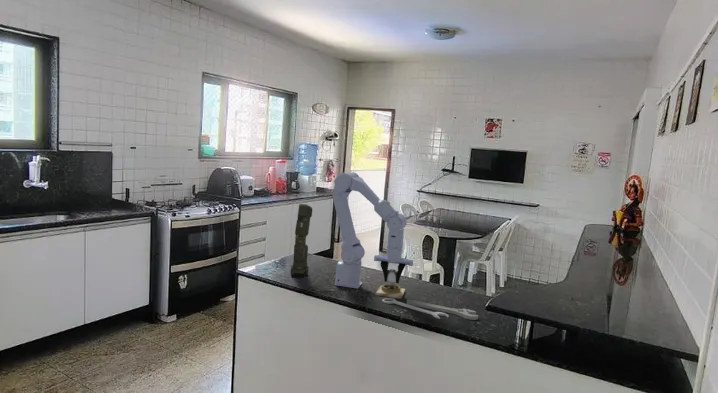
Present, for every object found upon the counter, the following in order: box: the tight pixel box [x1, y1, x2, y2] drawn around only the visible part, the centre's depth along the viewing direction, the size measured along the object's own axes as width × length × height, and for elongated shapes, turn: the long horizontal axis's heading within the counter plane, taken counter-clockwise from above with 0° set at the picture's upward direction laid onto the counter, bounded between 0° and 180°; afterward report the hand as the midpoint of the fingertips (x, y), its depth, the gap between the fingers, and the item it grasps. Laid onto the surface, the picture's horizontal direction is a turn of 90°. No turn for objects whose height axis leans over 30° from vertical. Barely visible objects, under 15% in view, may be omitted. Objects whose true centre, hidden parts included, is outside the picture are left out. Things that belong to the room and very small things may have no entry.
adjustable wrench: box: [406, 299, 479, 321], centre depth 160 cm, size 25×6×2 cm, turn 62°
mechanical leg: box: [290, 203, 313, 279], centre depth 189 cm, size 14×7×30 cm, turn 179°
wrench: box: [381, 297, 449, 320], centre depth 159 cm, size 25×2×5 cm
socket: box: [375, 283, 406, 300], centre depth 174 cm, size 10×10×2 cm
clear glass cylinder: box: [385, 268, 398, 289], centre depth 173 cm, size 4×4×8 cm
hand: (391, 281), depth 174 cm, fingers closed on clear glass cylinder, 4 cm apart
